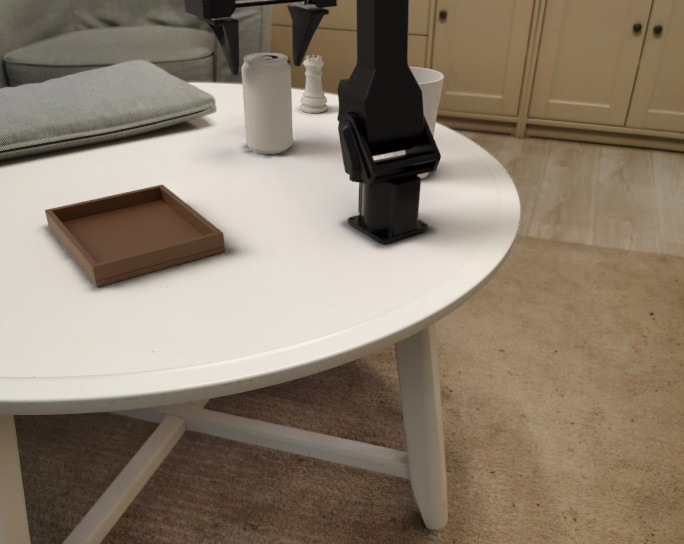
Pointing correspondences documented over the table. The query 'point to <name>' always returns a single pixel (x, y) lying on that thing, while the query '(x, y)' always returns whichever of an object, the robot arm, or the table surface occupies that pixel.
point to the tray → (133, 233)
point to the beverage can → (267, 102)
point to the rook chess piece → (313, 86)
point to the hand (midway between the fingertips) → (266, 70)
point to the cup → (426, 100)
